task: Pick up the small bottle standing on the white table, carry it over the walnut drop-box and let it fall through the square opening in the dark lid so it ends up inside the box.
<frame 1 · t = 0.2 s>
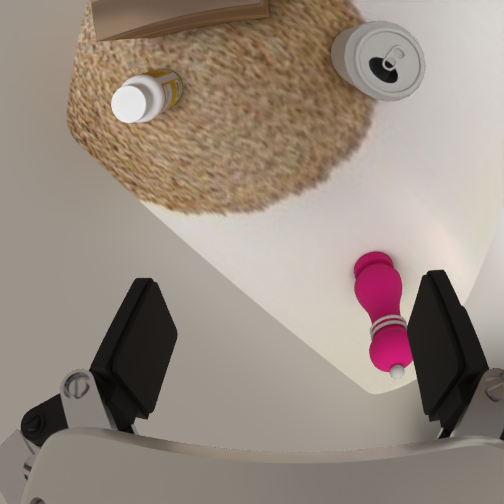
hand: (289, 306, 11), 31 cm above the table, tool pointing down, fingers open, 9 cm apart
can: (361, 56, 30), on the table
supplement bottle: (163, 88, 35), on the table
pepper mill: (372, 266, 48), on the table
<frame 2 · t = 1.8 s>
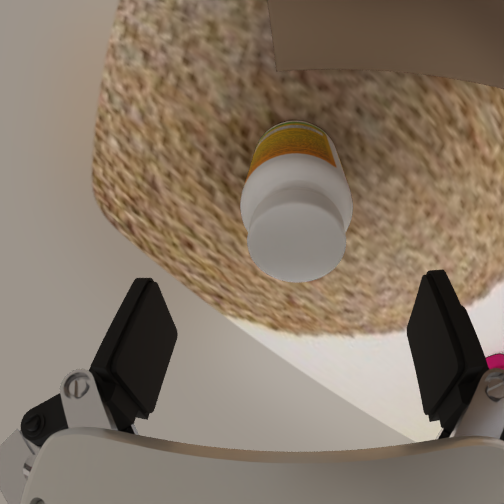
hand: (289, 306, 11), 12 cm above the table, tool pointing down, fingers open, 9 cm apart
supplement bottle: (295, 156, 20), on the table
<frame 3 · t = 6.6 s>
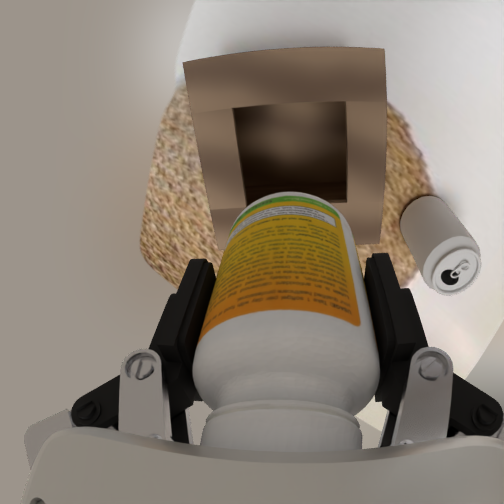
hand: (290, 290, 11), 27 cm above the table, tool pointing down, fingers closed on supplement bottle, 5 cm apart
drop box: (291, 121, 33), on the table
can: (423, 217, 38), on the table
supplement bottle: (291, 241, 14), point 24 cm above the table, touching gripper
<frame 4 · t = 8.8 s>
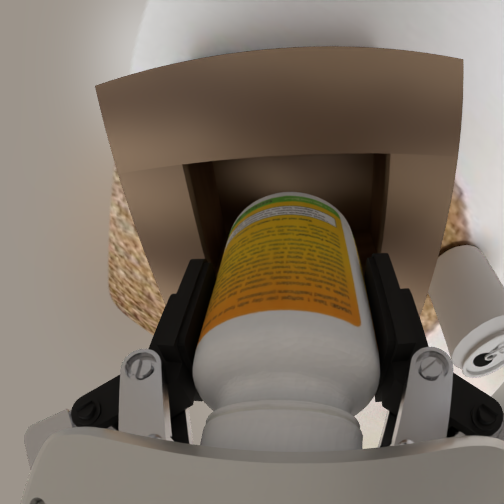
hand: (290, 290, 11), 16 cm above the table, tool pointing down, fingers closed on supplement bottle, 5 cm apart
drop box: (292, 148, 24), on the table
can: (453, 267, 29), on the table
supplement bottle: (291, 241, 14), point 13 cm above the table, touching gripper
when the fingers open (14 cm above the table, at t = 10.0 s): supplement bottle drops 11 cm, resting on drop box.
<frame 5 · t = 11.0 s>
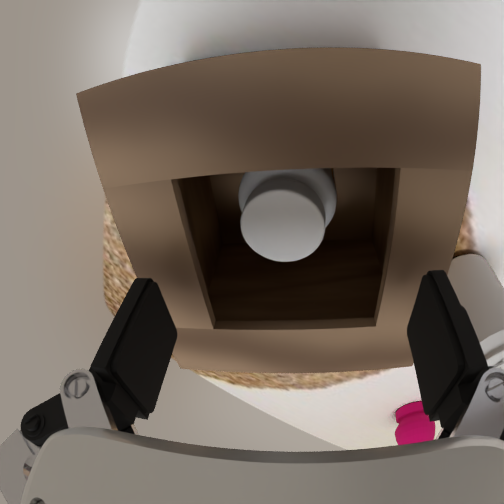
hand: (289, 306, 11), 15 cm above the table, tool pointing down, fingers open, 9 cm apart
drop box: (291, 154, 23), on the table
can: (457, 276, 28), on the table
supplement bottle: (294, 156, 22), point 1 cm above the table, touching drop box
pepper mill: (411, 408, 46), on the table
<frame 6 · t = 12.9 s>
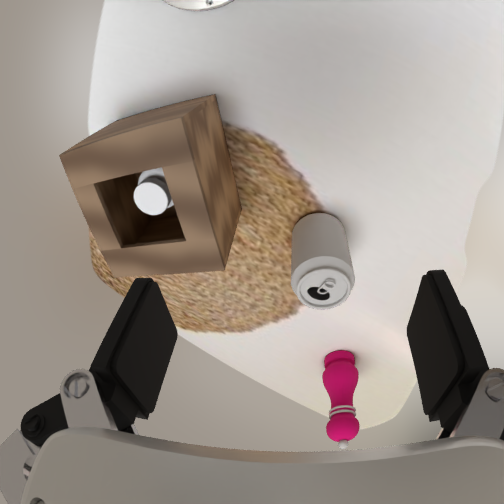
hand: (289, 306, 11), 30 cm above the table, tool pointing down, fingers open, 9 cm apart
drop box: (178, 163, 40), on the table
can: (318, 232, 44), on the table
supplement bottle: (178, 163, 40), resting on drop box
pepper mill: (339, 357, 62), on the table
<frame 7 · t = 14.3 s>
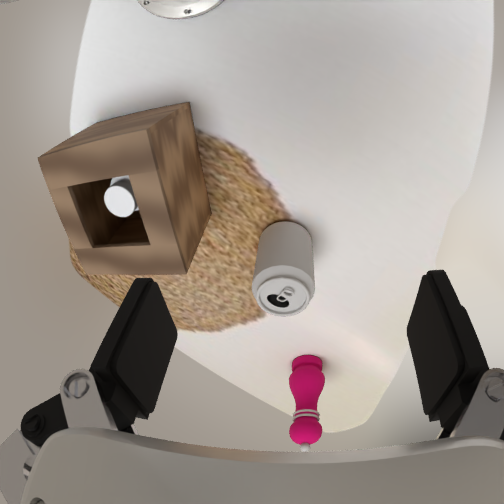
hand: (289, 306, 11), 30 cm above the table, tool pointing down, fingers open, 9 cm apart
drop box: (152, 167, 41), on the table
can: (285, 239, 46), on the table
supplement bottle: (152, 167, 40), resting on drop box
pepper mill: (307, 362, 64), on the table
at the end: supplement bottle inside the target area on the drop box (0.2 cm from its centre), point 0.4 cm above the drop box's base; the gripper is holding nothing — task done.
